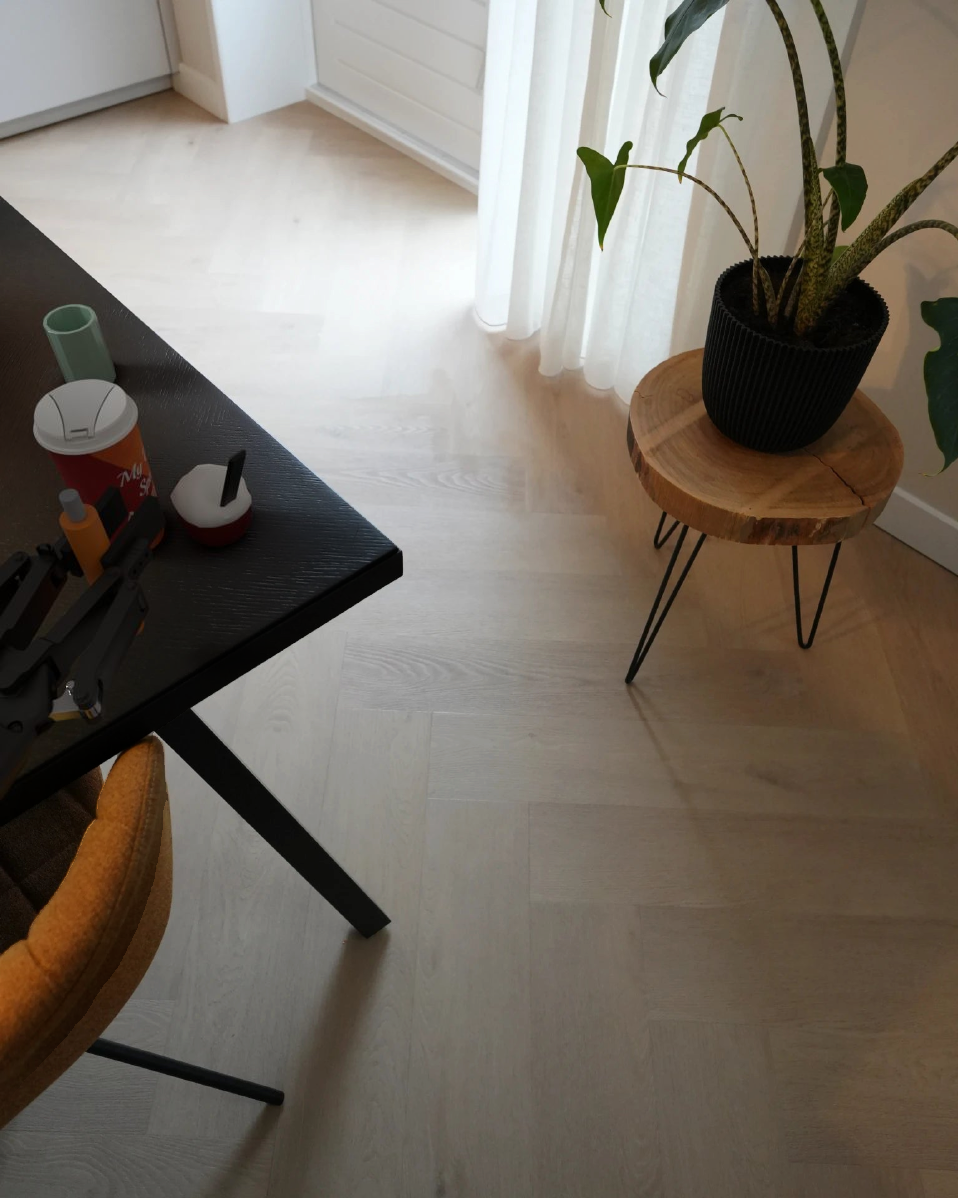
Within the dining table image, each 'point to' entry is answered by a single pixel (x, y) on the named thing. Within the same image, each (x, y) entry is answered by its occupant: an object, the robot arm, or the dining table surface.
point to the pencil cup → (79, 344)
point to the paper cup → (96, 443)
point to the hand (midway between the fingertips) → (137, 504)
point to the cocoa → (214, 502)
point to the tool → (84, 534)
